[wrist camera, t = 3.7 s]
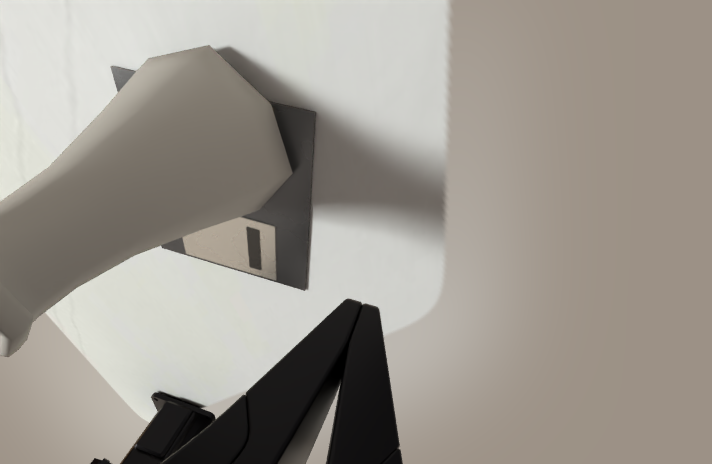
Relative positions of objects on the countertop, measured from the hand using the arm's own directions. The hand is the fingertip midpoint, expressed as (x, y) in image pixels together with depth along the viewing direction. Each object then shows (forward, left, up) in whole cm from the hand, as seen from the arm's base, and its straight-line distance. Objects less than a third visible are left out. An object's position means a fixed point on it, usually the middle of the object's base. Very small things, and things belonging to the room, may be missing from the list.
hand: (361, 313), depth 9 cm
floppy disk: (-3, +8, -7) cm, 11 cm away
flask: (0, +8, -7) cm, 11 cm away
